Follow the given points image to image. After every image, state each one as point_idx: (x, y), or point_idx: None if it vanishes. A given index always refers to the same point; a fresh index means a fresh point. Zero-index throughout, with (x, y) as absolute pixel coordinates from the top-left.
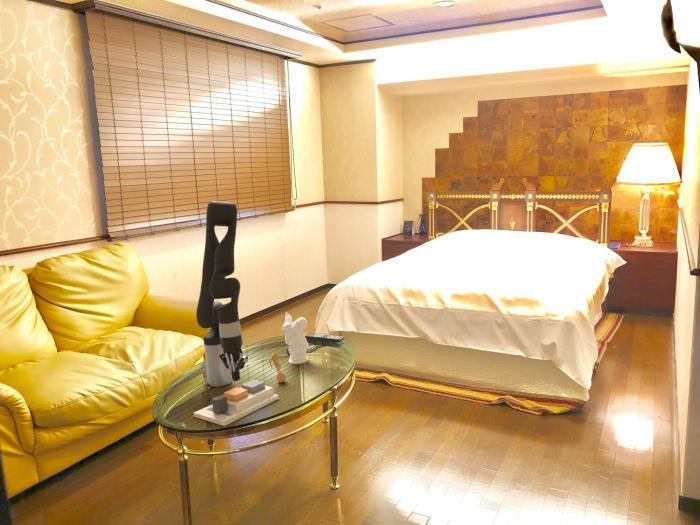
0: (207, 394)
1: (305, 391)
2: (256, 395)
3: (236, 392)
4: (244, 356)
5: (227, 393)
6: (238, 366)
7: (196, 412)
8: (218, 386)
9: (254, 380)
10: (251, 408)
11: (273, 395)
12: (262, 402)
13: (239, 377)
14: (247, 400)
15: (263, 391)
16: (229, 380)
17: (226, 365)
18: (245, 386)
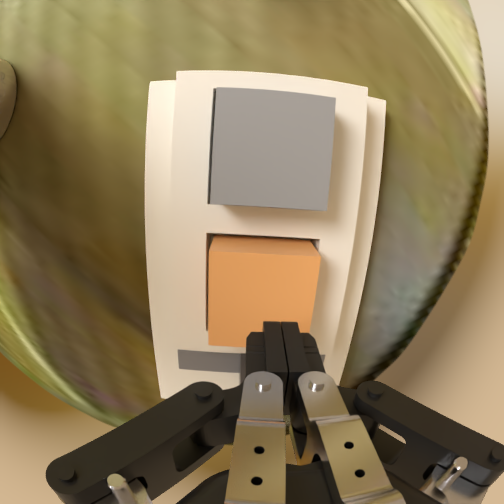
0: (21, 216)
1: (420, 7)
2: (355, 221)
3: (282, 316)
4: (487, 489)
5: (240, 345)
6: (385, 455)
7: (168, 394)
8: (1, 136)
9: (240, 98)
10: (363, 281)
11: (368, 112)
12: (374, 209)
13: (314, 345)
14: (343, 285)
15: (357, 158)
16: (8, 81)
17: (199, 454)
18: (253, 205)
